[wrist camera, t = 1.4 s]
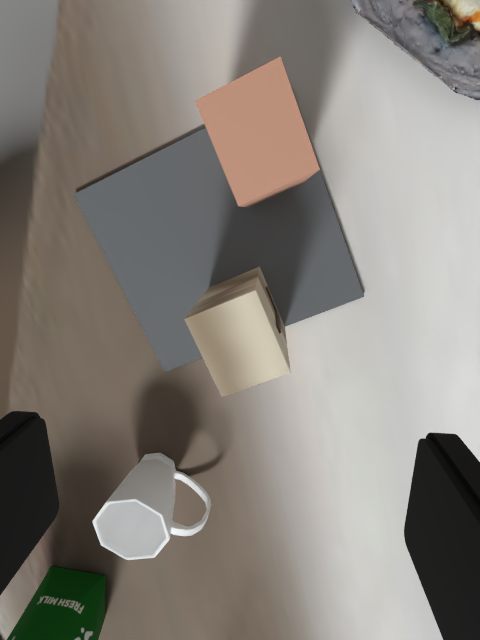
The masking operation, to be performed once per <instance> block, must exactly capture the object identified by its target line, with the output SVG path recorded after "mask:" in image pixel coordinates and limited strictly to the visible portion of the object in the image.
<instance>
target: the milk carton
mask: <svg viewBox="0 0 480 640" xmlns="http://www.w3.org/2000/svg"><path fill="white" fill-rule="evenodd" d="M105 606H106V575H101V574H95V573H89V572H83V571H77V570H71V569H65V568H59V567H53V566H51V568H50V569H49V571H48V573H47V574H46V576H45V578H44V579H43V581H42V583H41V585H40V586H39V588H38V589H37V591H36V593H35V594H34V596H33V598H32V599H31V601H30V603H29V604H28V606H27V608H26V609H25V611H24V613H23V614H22V616H21V618H20V619H19V621H18V623H17V624H16V626H15V627H14V629H13V631H12V632H11V634H10V636H9V637H8V639H7V640H98V638H99V635H100V632H101V629H102V625H103V622H104V619H105Z"/></svg>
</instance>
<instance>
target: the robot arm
mask: <svg viewBox="0 0 480 640" xmlns="http://www.w3.org/2000/svg"><path fill="white" fill-rule="evenodd" d="M58 509H59V500H58V494H57V488H56V482H55V476H54V470H53V464H52V458H51V452H50V446H49V440H48V434H47V428H46V423H45V421H44V419H42V418H40V416H39V415H38V413H36V412H21V411H12V412H10V413H8V414H7V415H6V416H5V417H3V418H2V419H1V420H0V595H1V593H2V592H3V591H4V589H5V588H6V586H7V585H8V584H9V582H10V581H11V579H12V578H13V577H14V575H15V574H16V572H17V571H18V570H19V568H20V567H21V565H22V564H23V563H24V561H25V560H26V558H27V557H28V556H29V554H30V553H31V551H32V550H33V549H34V547H35V546H36V544H37V543H38V542H39V540H40V539H41V537H42V536H43V535H44V533H45V532H46V530H47V529H48V528H49V526H50V525H51V523H52V522H53V521H54V519H55V517H56V515H57V513H58ZM404 536H405V542H406V546H407V548H408V551H409V554H410V556H411V559H412V561H413V564H414V566H415V569H416V571H417V574H418V576H419V579H420V581H421V584H422V587H423V589H424V592H425V594H426V597H427V599H428V602H429V604H430V607H431V609H432V612H433V614H434V617H435V620H436V622H437V625H438V627H439V630H440V632H441V635H442V637H443V640H480V462H479V461H478V460H477V458H476V457H475V456H474V455H473V454H472V452H471V451H470V450H469V449H468V447H467V446H466V445H465V444H464V442H463V441H462V440H461V439H460V438H459V437H458V436H457V435H456V434H445V433H429V434H428V435H427V436H426V439H420V440H419V442H418V447H417V453H416V460H415V466H414V472H413V478H412V484H411V490H410V496H409V503H408V509H407V515H406V521H405V527H404Z"/></svg>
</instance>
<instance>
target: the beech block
mask: <svg viewBox="0 0 480 640" xmlns="http://www.w3.org/2000/svg"><path fill="white" fill-rule="evenodd" d="M184 320H185V322H186V324H187V326H188V328H189V330H190V332H191V334H192V336H193V338H194V340H195V343H196V345H197V347H198V349H199V351H200V353H201V355H202V357H203V359H204V361H205V363H206V365H207V367H208V369H209V371H210V374H211V376H212V378H213V380H214V382H215V384H216V386H217V388H218V390H219V392H220V394H221V396H222V397H223V396H226V395H229V394H232V393H234V392H237V391H240V390H243V389H246V388H249V387H251V386H254V385H257V384H260V383H263V382H265V381H268V380H271V379H274V378H277V377H280V376H282V375H285V374H288V373H290V365H289V357H288V349H287V341H286V334H285V326H284V324H283V322H282V319H281V317H280V314H279V312H278V310H277V307H276V305H275V302H274V300H273V297H272V295H271V293H270V290H269V288H268V285H267V283H266V281H265V278H264V276H263V273H262V271H261V269H260V267H257V268H255V269H252V270H250V271H248V272H245V273H243V274H240V275H238V276H236V277H233V278H231V279H228V280H226V281H224V282H221V283H219V284H216V285H214V286H212V287H209V288H208V289H207V290H206V292H205V293H204V294H203V296H202V297H201V298H200V299H199V301H198V302H197V303H196V305H195V306H194V307H193V308H192V310H191V311H190V312H189V314H188V315H187V316H186V317H185V319H184Z"/></svg>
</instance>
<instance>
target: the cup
mask: <svg viewBox="0 0 480 640" xmlns="http://www.w3.org/2000/svg"><path fill="white" fill-rule="evenodd" d="M175 479H179V480H181V481H183V482H185V483H186V484H188V485H189V486H190V487H191V488H192V489H193V490H195V491H196V492H197V493H198V494H199V495H200V496H201V498H202V499H203V500H204V502H205V503H206V508H207V510H206V513H205V515H204V516H203V518H202V520H201V521H199V522H198V523H196V524H194V525H193V526H189V527H186V526H183V525H181V524H178V523H176V522H174V521H172V517H173V510H174V503H175ZM210 508H211V502H210V497H209V495H208V494H207V492H206V491H205V490H204V489H203V488H202V487H201V486H200V485H199V484H198V483H197V482H196V481H194V480H193V479H192V478H191V477H189V476H188V475H186V474H184V473H183V472H179V471H176V468H175V465H174V461H173V460H171V459H170V458H168V457H167V456H165V455H163V454H162V453H152V454H145V455H144V457H143V458H142V459H141V461H140V462H139V463H138V464H137V465H136V466H135V467H134V468H133V469H132V470H131V471H130V472H129V473H128V475H127V476H126V477H125V479H124V480H123V481H122V483H121V484H120V485H119V486H118V488H117V489H116V490H115V491H114V492H113V494H112V495H111V496H110V498H109V499H108V500H107V501H106V503H105V504H104V506H103V507H102V508H101V510H100V511H99V513H98V514H97V515H96V517H95V518H94V520H93V521H92V522H93V525H94V528H95V531H96V533H97V536H98V539H99V541H100V544H101V546H103V547H105V548H106V549H108V550H110V551H112V552H113V553H115V554H117V555H119V556H120V557H122V558H124V559H126V560H132V559H144V558H155V557H156V555H157V554H158V553H159V552H160V551H161V549H162V548H163V547H164V546H165V544H166V543H167V542H168V541H169V540H170V534H174V535H180V536H190V535H193V534H195V533H196V532H198V531H200V530H201V529H202V528H203V526H204V524H205V523H206V521H207V518H208V515H209V512H210Z"/></svg>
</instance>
